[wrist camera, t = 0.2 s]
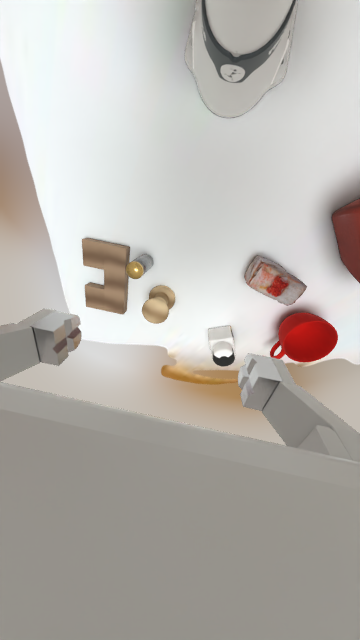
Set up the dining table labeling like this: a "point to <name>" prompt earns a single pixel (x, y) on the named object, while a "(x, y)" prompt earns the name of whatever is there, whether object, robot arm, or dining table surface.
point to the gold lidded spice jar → (139, 266)
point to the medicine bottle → (222, 345)
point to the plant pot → (349, 236)
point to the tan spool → (158, 304)
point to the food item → (274, 281)
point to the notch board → (107, 275)
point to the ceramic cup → (305, 338)
